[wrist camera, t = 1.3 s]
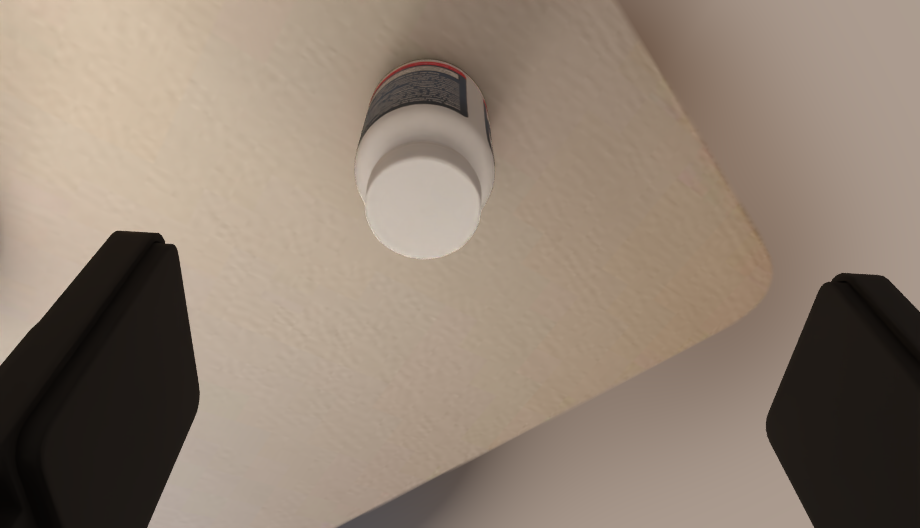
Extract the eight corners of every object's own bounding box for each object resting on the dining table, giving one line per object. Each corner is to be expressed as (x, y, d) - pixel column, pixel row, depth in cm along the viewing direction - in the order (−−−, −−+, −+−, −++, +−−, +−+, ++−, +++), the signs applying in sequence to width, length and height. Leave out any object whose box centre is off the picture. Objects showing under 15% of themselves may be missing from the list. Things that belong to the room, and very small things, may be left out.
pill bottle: (344, 106, 31) (310, 197, 24) (436, 31, 29) (431, 103, 22) (421, 191, 33) (412, 299, 26) (511, 126, 32) (529, 221, 24)
